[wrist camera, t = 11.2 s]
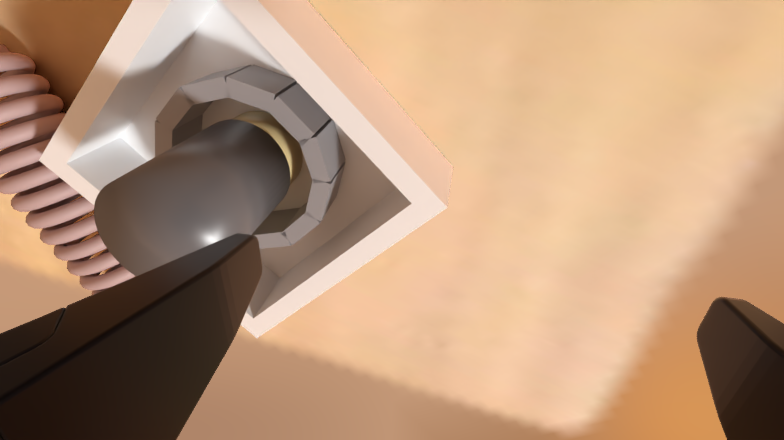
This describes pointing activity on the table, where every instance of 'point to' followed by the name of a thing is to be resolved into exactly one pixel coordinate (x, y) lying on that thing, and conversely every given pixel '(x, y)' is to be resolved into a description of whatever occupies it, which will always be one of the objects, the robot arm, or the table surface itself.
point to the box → (287, 105)
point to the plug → (198, 191)
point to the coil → (46, 175)
